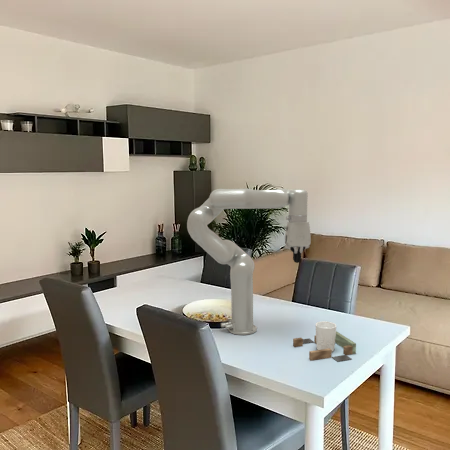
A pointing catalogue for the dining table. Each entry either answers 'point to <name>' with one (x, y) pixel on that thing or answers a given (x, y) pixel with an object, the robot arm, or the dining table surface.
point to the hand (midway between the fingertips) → (297, 262)
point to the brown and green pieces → (341, 340)
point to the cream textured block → (325, 335)
